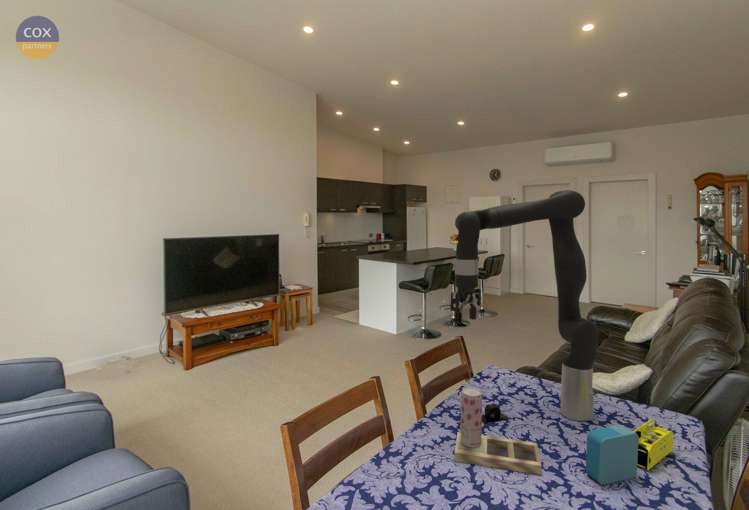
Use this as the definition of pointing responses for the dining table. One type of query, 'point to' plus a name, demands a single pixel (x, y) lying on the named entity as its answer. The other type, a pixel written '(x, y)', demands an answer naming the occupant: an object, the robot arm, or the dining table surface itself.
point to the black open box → (493, 414)
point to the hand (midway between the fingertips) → (465, 321)
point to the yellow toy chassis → (653, 444)
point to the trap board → (501, 454)
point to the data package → (612, 454)
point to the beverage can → (471, 417)
